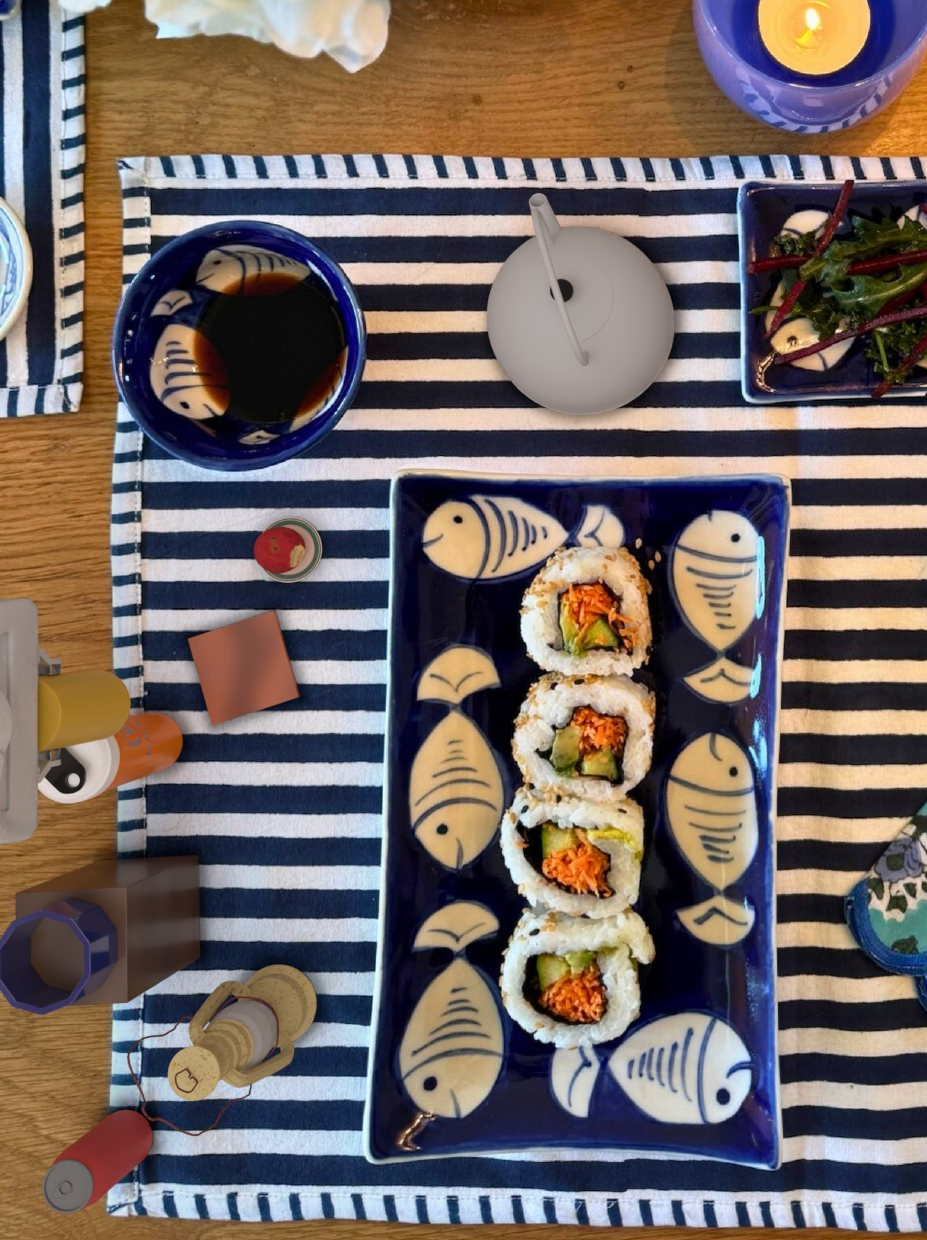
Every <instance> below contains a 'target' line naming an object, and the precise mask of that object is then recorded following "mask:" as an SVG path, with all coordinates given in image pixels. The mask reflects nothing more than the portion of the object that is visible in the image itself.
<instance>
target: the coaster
mask: <svg viewBox="0 0 927 1240" xmlns="http://www.w3.org/2000/svg"><path fill="white" fill-rule="evenodd" d="M187 642H188V645H189V649H190V652H191V655H192V659H193V662H194V665H195V666H194V667H195V670H196V673H197V677H198V681H199V684H200V687H201V691H202V694H203V698H204V701H205V705H206V710H207V712H208V716H209V719H210V723H211V726H217V725H220V724H223V723H225V722H228V721H231V720H234V719H238V718H241V717H243V716H247V715H249V714H253V713H256V712H259V711H262V710H265V709H267V708H270V707H273V706H276V705H280V704H282V703H285V702H289V701H292V700H295V699H298V698H300V697H301V694H300V690H299V687H298V684H297V680H296V677H295V673H294V670H293V666H292V663H291V660H290V656H289V652H288V649H287V645H286V642H285V638H284V635H283V632H282V628H281V624H280V621H279V618H278V614H277V611H276V610H270V611H268V612H265V613H261V614H259V615H255V616H252V617H250V618H247V619H243V620H240V621H238V622H234V623H231V624H228V625H225V626H222V627H219V628H216V629H213V630H210V631H207V632H204V633H201V634H198V635H195V636H192V637H189V638H187Z"/></svg>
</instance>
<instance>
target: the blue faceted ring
mask: <svg viewBox="0 0 927 1240" xmlns="http://www.w3.org/2000/svg"><path fill="white" fill-rule="evenodd" d="M43 917H45V918H49V919H52V920H56V921H59V922H63V923H67V924H68V925H69V926H70V928H71V929H72V930H73V932H74V933H75V934H76V936H77V937H78V938H79V940H80V941H81V943H82V944H83V945H84V975H83V977H82V978H81V980H80V981H79V983H78V984H77V986H76V987H75V989H74V990H73V992H68V991H65V990H61V989H58V988H54V987H51V986H47V985H46V984H45V983H44V982H43V980H42V979H41V977H40V976H39V975H38V973H37V972H36V971H35V969H34V968H33V966H32V965H31V951H30V937H31V935H32V934H33V932H34V931H35V929H36V928H37V926H38V925H39V923H40V922H41V920H42V919H43ZM116 963H117V929H116V928H115V926H114V925H113V924H112V922H111V921H110V919H109V918H108V917H107V915H106V914H105V913H104V911H103V910H102V909H101V907H100V906H99V905H96V904H92V903H89V902H85V901H81V900H78V899H74V898H67V899H65V900H62V901H60V902H57V903H55V904H52V905H50V906H47V907H44V908H42V909H40V910H37V911H35V912H32V913H30V914H28V915H25V916H23V917H21V918H18V919H16V920H15V919H14V920H12V921H11V922H10V923H9V924H8V927H6V930H5V931H4V932H3V933H2V935H1V937H0V993H1V994H2V995H3V997H4V999H6V1001H7V1002H8V1004H9V1005H10V1006H11V1007H12V1008H14V1009H16V1008H18V1009H17V1010H21V1011H26V1012H29V1013H32V1014H36V1015H39V1016H45V1015H47V1014H51V1013H52V1012H55V1011H58V1010H60V1009H63V1008H64V1007H69V1006H68V1005H70V1004H73V1003H74V1002H76V1001H78V1000H79V999H81V998H83V997H85V996H86V995H88V994H90V993H92V992H93V991H95V990H97V989H99V988H100V987H101V985H102V984H103V982H104V981H105V979H106V978H107V976H108V975H109V973H110V972H111V970H112V969H113V967H114V966H115V964H116Z"/></svg>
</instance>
